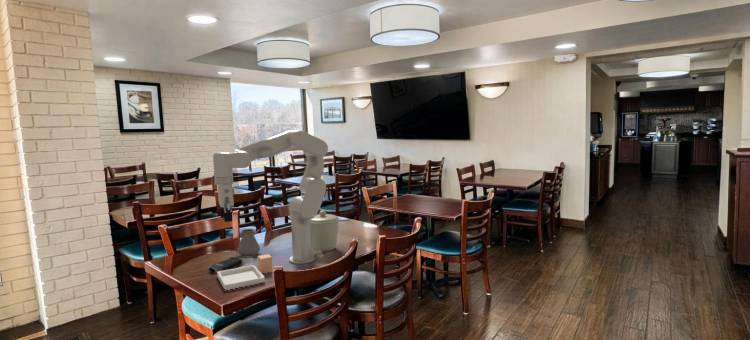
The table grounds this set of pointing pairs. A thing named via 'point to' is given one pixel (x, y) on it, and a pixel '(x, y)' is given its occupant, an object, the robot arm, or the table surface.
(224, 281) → the tray
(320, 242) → the canister
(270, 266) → the block
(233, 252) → the table surface
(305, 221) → the robot arm
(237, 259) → the electronic device
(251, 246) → the coffee pot
